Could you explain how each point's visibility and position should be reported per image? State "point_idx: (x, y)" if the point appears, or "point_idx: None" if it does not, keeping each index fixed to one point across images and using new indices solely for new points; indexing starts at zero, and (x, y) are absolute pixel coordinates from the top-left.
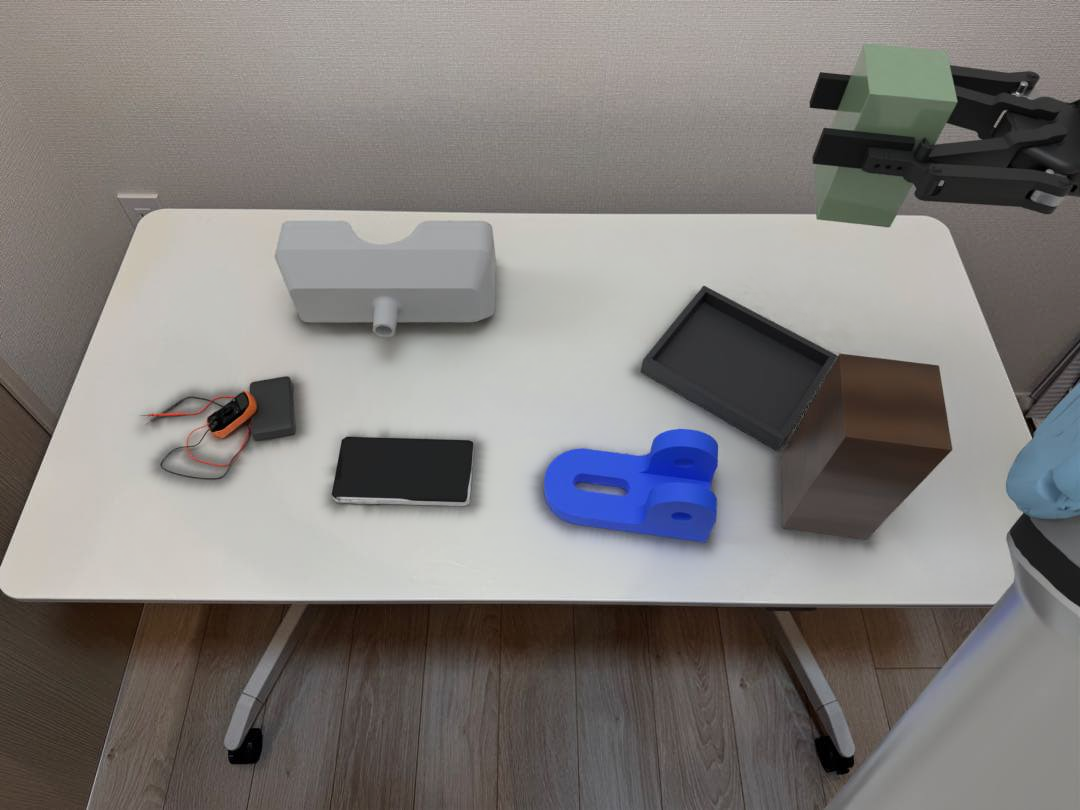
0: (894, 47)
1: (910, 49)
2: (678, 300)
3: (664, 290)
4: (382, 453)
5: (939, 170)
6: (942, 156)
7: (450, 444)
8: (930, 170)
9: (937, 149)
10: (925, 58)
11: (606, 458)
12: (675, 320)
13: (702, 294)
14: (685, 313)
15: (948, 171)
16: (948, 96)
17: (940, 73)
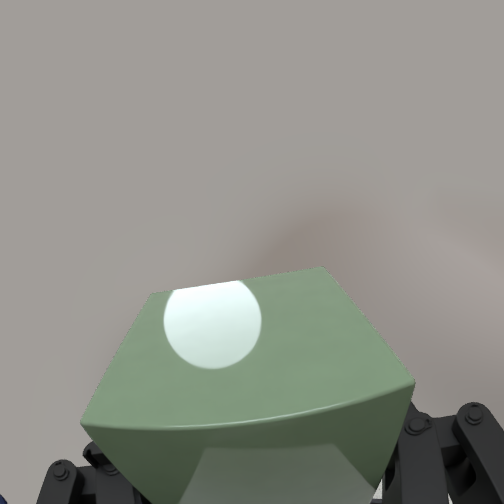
0: (339, 293)
1: (352, 314)
2: (375, 493)
3: (380, 482)
4: None
5: (54, 472)
6: (96, 498)
7: None
8: (60, 460)
9: (116, 493)
10: (324, 345)
11: None
12: None
13: (377, 502)
14: None
15: (52, 490)
16: (109, 404)
17: (245, 390)
